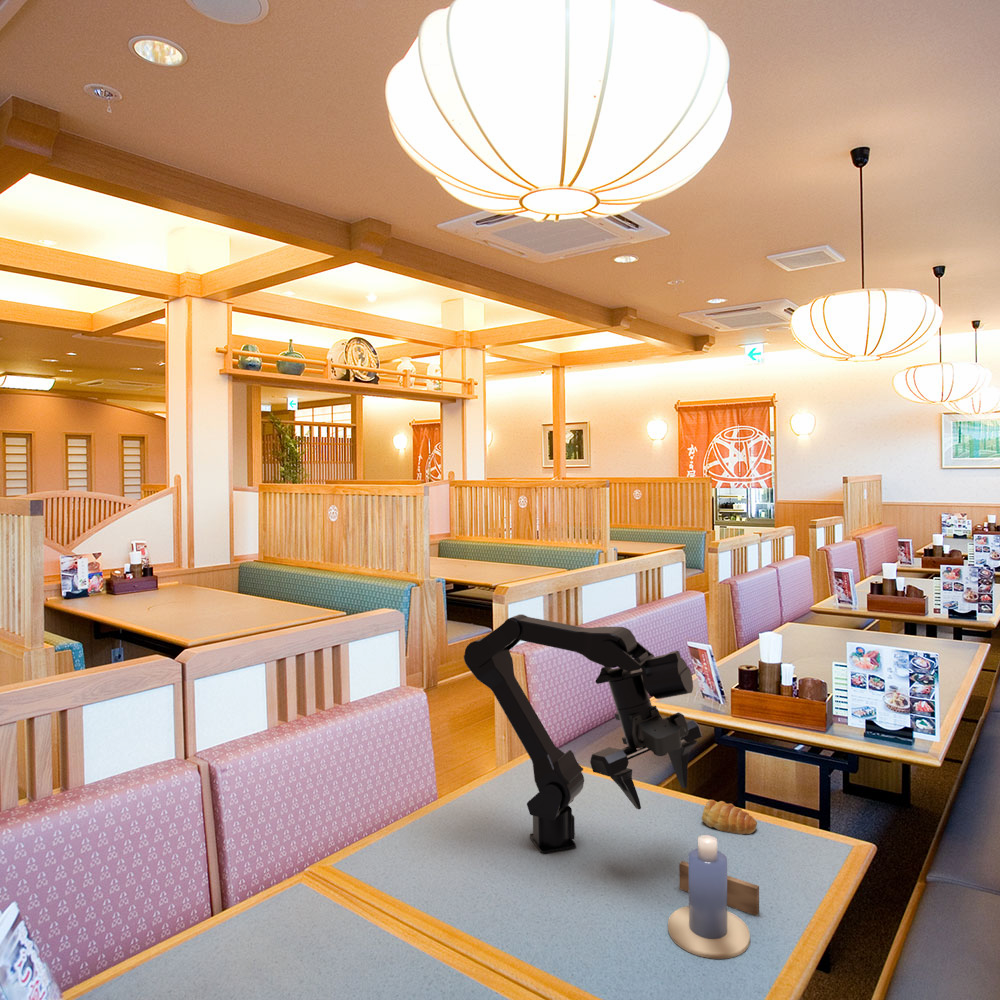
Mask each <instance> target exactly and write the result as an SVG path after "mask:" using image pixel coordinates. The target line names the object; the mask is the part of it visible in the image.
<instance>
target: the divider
mask: <svg viewBox="0 0 1000 1000" xmlns="http://www.w3.org/2000/svg"><path fill="white" fill-rule="evenodd" d="M678 865H679V866H678V867H679V869H678V871H679V874H678V875H679V877H678V878H679V882H678V883H679V890H682V891H684V892H686V893H689V862H686V861H683V860H681V861H680V862H679V864H678ZM727 907H730V908H733V909H735V910H738V911H739V910H740V911H741V912H744V913H748V914H750V915H752V916H756V917H757V916H759V914H760V885H759V884H758V885H757V884H754V883H752V882H748V881H745V880H742V879H738V878H736V877H734V876H733V877H732V876H730V875H727Z"/></svg>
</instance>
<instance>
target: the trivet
mask: <svg viewBox="0 0 1000 1000" xmlns="http://www.w3.org/2000/svg"><path fill="white" fill-rule="evenodd" d="M667 929H668V935H669V936H670V938H671V939H672V941H673V942H674V943H675V944H676V945H677V946H679V948H681V949H682V950H684V951H686V952H688V953H690V954H693V955H695V956H697V957H702V958H707V959H713V960H723V959H724V960H725V959H727V960H728V959H731V958H735V957H737V956H741V955H742V954H743V953H745V951H747V949H748V948H749V946H750V943H751V942H750V941H751V934H750V930H749V927H748V925H747V924H746V923H745V922H744V920H743V919H741V918H740V917H739V916H737V915H736V914H734V913H732V912H731V911H729V910H727V934H726V935H725V936H724V937H722V938H719V939H707V938H703V937H700V936H698V935H696V934H695V933H693V932H692V931H691V929H690V927H689V905H686V906H682V907H679V908H678V909H676V910H674V911H673V912H672V913H671V914H670V915H669V917H668V923H667Z"/></svg>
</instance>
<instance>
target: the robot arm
mask: <svg viewBox="0 0 1000 1000" xmlns="http://www.w3.org/2000/svg"><path fill="white" fill-rule="evenodd" d="M520 641H522V642H527V643H532V644H536V645H541V646H546V647H551V648H555V649H559V650H563V651H564V650H565V651H570V652H574V653H578V654H580V655H581V656H583V657H584V658H586V659H587V660H588V661H590V662H593V663H595V664H598V665H600V666H602V667H601V669H600V672H599V675H598V677H597V678H596V679H595V683H596V684H598V685H599V684H605V683H608V686H609V688H610V691H611V695H612V698H613V701H614V704H615V709H616V711H617V712H615V713H614V717H615V720H616V721H619V722H620V725H621V728H622V732H623V734H624V736H623V737H621V740H622V743H623V745H627V746H626V747H624V748H621V749H620V748H616V747H609V746H608V747H605V748H604V749H601V750H599V751H596V752H594V753H592V754H591V756H590V761H589V763H590V768H591V770H592V772H593V773H596V774H599V775H603V776H606V777H610V779H612V780H613V782H614V783H615V784H616V785H617V786H618V787H619V789H621V790H622V792H623V793H624V795H625V796H626V797H627V799H628V800H629V801H630V802H631V804H632V805H633V806H634V808H635V809H636V810H641V809H642V806H641V801H640V798H639V795H638V792H637V789H636V787H635V784H634V781H633V769H632V768H628V766H629V763H630V762H629V760H631V759H633V758H636V757H638V756H640V755H643V754H645V753H647V752H650V751H651V752H652V753H653V754H654V756H657V757H664V756H667V754H668V757H669V760H670V762H671V765H672V768H673V769H674V774H675V775H676V778H677V781H678V782H679V785H680V786H681V788H683V789H686V788H688V775H689V774H688V769H689V768H688V765H689V756H690V752H691V751H692V749H693V747H694V746H695V745H697V743H698V740H697V739H699V738H702V737H703V733H702V730H701V727H700V725H699V724H698V722H697V721H696V720H693V719H687V718H686V717H685V715H684V714H683V713H681V712H680V711H679V712H675V713H673V714H671V715H669V716H667V717H664V718H663V717H662V715H660V712H659V709H658V708H657V705H652V702H651V698H650V697H654V698H655V700H662V699H667V698H672V697H677V696H682V695H687V694H692V693H693V690H694V682H693V681H694V680H693V675H692V672H691V668H690V667H689V666H688V664H687V662H686V661H685V659H684V658H683V657H682V655H681V653H680V651H679V650H674V651H670V652H669V653H665V654H662V655H657V656H655V655H654V654H653V653H652V652H651V651H650V650H648V649H647V648H646V647H645V646H643V644H641V643H640V642H638V641H637V639H636V637H635V635H634V634H633V632H632V630H630V629H629V628H627V627H624V626H597V627H582V626H577V625H573V624H572V625H571V624H566V623H560V622H557V621H551V620H547V619H546V620H545V619H542V618H541V619H540V618H535V617H530V616H528V615H525V614H517V615H513V616H512V617H509V618H506V620H505V621H504V622H503V623H502V624H500V626H498V627H497V628H496V629H494V630H492V632H490V633H488V634H487V635H485V636H483V637H481V638H479V639H476V640H474V641H472V642H469V643H468V644H467V645H466V647H465V650H464V655H463V660H464V663H465V666H466V667H467V669H469V671H470V672H471V673H472V675H473V676H474V677H475V678H476V680H477V681H479V682H480V683H481V684H483V685H484V686H486V687H487V688H488V689H490V690H491V692H492V693H493V695H494V697H495V699H496V700H497V702H498V704H499V706H500V707H501V709H502V711H503V712H504V714H505V716H506V718H507V720H508V722H509V724H510V725H511V727H512V728H513V731H514V732H515V733H516V735H517V737H518V739H519V740H520V743H521V744H522V747H523V748H524V749H525V751H526V752H527V754H528V756H529V758H530V760H531V763H532V770H533V778H534V783H535V785H536V788H537V790H538V792H537V793H536V794H535V795H534V796H533V797H532V798H530V799H529V800H528V801H527V802H526V806H527V809H528V811H529V812H528V813H529V815H530V816H532V833H530V834H529V838H530V839H531V841H532V842H533V844H534V845H535V846H536V848H537V850H539V853H541V854H546V853H547V854H548V853H552V852H553V853H554V852H559V851H563V850H564V851H566V850H570V849H575V848H577V843H576V842H575V841H574V840H575V838H576V836H575V834H576V833H575V832H576V831H575V829H576V827H575V826H576V825H575V824H576V823H575V820H576V819H575V816H574V815H573V811H572V807H571V806H570V804H572V802H574V800H575V798H576V797H577V796H578V795H579V794H580V793H581V792H582V791H583V789H584V783H585V778H584V774H583V771H584V768H583V767H582V766H581V765H580V764H579V762H578V761H577V758H576V757H575V754H574V752H573V750H571V749H568V751H566V752H564V751H562V750H561V749H559V748H558V747H557V746H556V745H555V744H554V741H553V740H552V738H551V737H550V735H549V733H548V732H547V730H546V728H545V726H544V725H543V723H542V721H541V719H540V717H539V716H538V714H537V713H536V712H537V711H535V708H534V707H533V706H532V704H531V702H530V701H529V699H528V697H527V695H526V693H525V692H524V690H523V688H522V687H521V685H520V683H519V681H518V680H517V678H516V676H515V670H514V661H513V657H512V654H511V652H510V650H512V649H513V648H515V647H516V646H517V644H519V642H520Z"/></svg>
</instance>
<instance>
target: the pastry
mask: <svg viewBox="0 0 1000 1000" xmlns="http://www.w3.org/2000/svg"><path fill="white" fill-rule="evenodd" d="M701 821H702V822H703V823H704V824H705V825H706V826H707V827H708V828H714V829H716V830H717V831H721V832H727V833H730V832H731V833H732V834H736V833H737V834H738V835H745V834H748V835H750V834H752V833H754V832H755V831H756V830H757V825H758V821H757V820H756V819H755V818H754V817H753V816H752V815H751V814H749V812H746V811H744V810H742V808H739V807H736V806H735V805H734V804H733V803H727V802H725V801H723V800H720V801H718V802H717V801H716V800H714V799H709V800H707V801H706V804H705V805H704V808H703V811H702V815H701Z"/></svg>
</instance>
